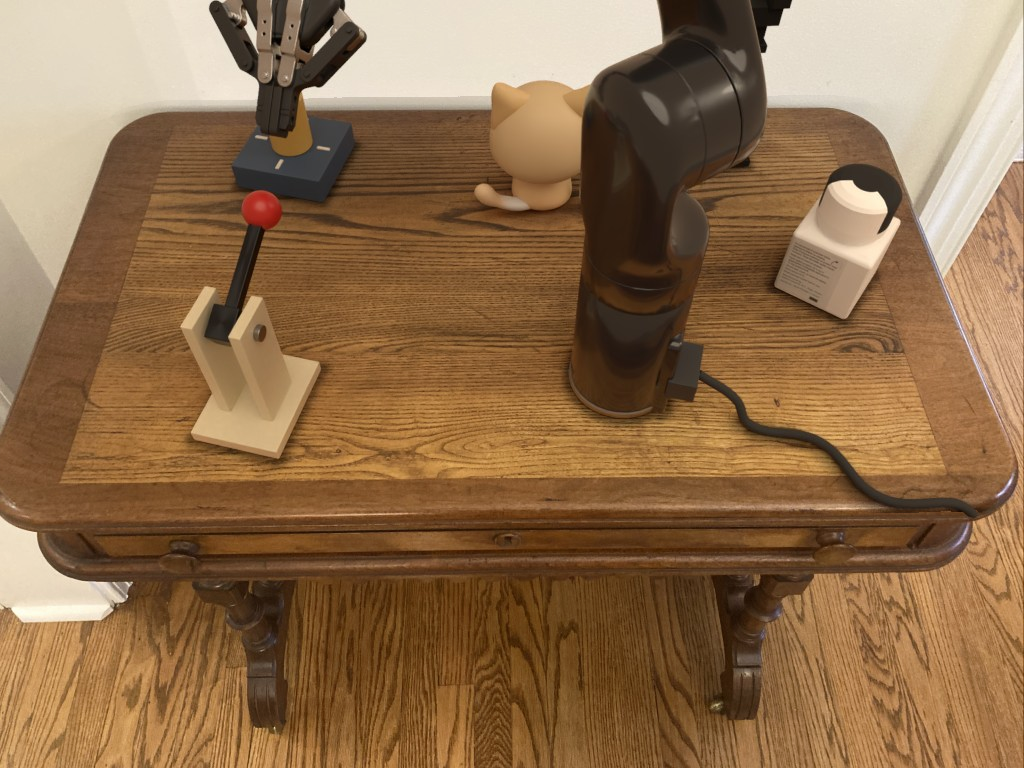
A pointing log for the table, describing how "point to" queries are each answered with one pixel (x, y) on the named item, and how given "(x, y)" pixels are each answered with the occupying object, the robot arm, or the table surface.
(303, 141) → the dial
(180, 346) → the table surface
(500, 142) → the kitten
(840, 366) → the table surface
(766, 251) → the table surface
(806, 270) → the container
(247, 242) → the red knob lever
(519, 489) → the table surface
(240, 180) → the panel
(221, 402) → the lever stand
